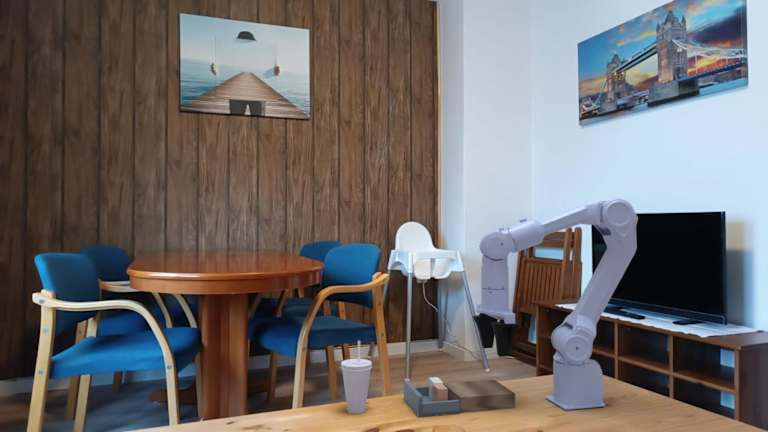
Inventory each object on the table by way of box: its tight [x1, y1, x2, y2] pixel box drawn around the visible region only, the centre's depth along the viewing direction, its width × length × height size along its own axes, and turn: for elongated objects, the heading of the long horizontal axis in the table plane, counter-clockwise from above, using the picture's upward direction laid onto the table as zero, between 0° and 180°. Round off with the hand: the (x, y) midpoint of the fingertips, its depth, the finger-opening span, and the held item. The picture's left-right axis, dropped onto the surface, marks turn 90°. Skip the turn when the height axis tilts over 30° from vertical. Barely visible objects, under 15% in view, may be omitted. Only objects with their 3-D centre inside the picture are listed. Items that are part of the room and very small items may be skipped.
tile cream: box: [428, 376, 444, 399], centre depth 111 cm, size 4×4×2 cm
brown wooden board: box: [443, 379, 516, 414], centre depth 111 cm, size 12×10×3 cm
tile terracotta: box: [432, 383, 448, 402], centre depth 107 cm, size 4×4×2 cm
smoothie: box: [340, 340, 373, 415], centre depth 106 cm, size 6×6×14 cm
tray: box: [403, 379, 461, 418], centre depth 109 cm, size 8×11×4 cm
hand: (495, 351), depth 112 cm, fingers open, 7 cm apart
